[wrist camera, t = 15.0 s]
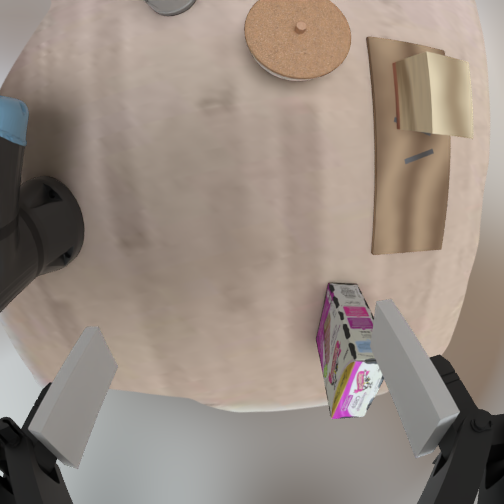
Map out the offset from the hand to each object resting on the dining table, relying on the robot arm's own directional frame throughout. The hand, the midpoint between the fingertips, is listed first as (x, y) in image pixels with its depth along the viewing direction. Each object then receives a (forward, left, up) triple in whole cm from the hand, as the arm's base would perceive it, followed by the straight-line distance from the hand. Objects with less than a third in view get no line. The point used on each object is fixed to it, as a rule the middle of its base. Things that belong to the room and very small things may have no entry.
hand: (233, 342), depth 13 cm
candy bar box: (+12, -19, -28) cm, 36 cm away
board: (+23, +6, -27) cm, 36 cm away
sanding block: (+23, +13, -27) cm, 37 cm away
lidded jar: (+7, +19, -28) cm, 34 cm away
